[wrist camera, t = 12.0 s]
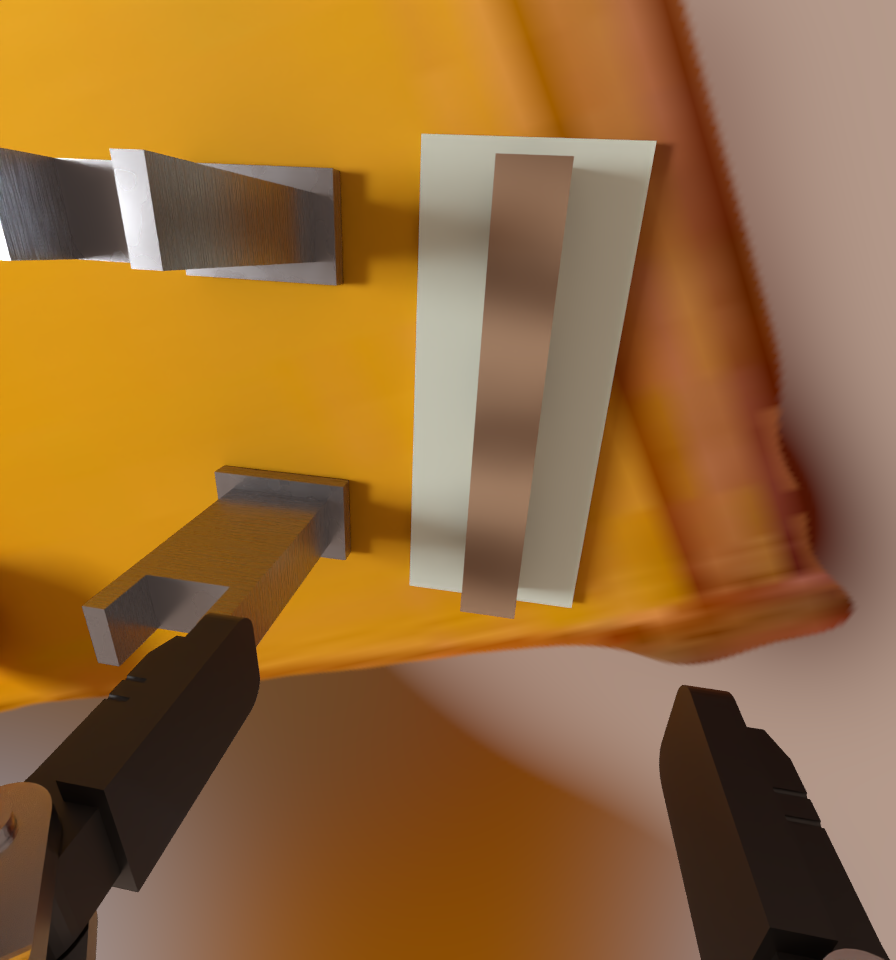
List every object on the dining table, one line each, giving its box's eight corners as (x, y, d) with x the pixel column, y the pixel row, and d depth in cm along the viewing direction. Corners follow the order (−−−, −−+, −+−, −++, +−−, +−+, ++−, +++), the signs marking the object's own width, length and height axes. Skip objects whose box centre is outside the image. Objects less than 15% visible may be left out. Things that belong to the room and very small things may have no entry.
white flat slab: (424, 136, 24) (421, 133, 23) (653, 143, 22) (656, 140, 22) (411, 579, 33) (409, 585, 33) (570, 601, 32) (571, 608, 32)
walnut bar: (500, 164, 23) (495, 153, 20) (570, 167, 23) (574, 156, 20) (467, 580, 32) (460, 611, 29) (516, 587, 32) (513, 618, 29)
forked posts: (183, 165, 26) (-97, 98, 14) (340, 171, 25) (172, 105, 13) (233, 536, 34) (82, 676, 23) (350, 551, 33) (253, 706, 22)
